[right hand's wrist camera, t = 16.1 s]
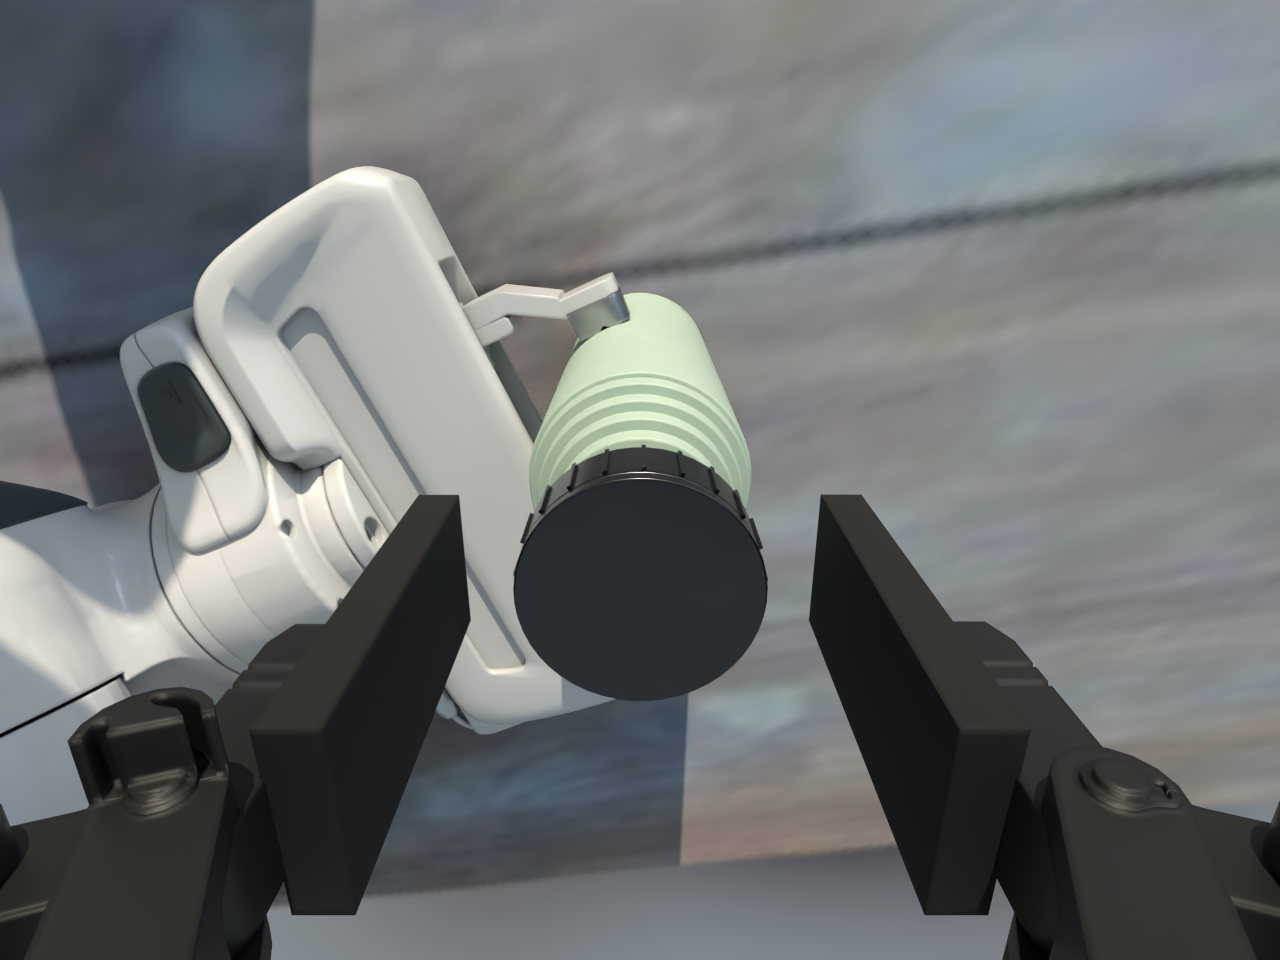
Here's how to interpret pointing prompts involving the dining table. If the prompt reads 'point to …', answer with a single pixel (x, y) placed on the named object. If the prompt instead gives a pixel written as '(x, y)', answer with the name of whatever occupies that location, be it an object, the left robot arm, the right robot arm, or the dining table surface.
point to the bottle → (641, 399)
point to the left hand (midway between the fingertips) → (663, 386)
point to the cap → (640, 575)
